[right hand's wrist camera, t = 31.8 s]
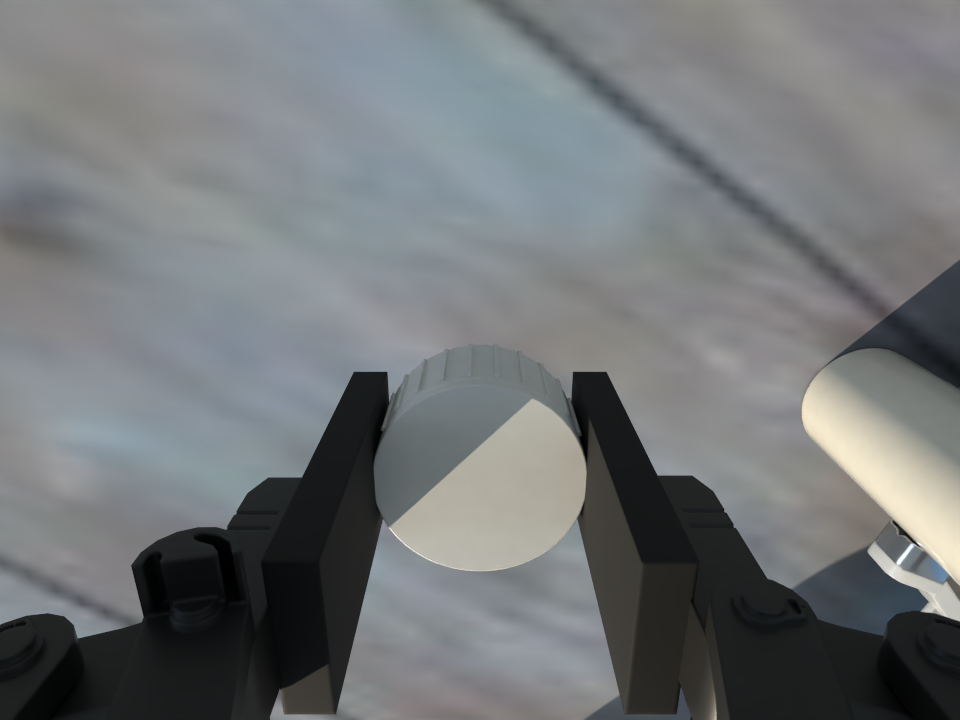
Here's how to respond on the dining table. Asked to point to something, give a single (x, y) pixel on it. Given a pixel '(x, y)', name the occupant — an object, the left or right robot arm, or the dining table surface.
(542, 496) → the cap
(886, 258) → the dining table surface
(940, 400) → the bottle
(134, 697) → the right robot arm
